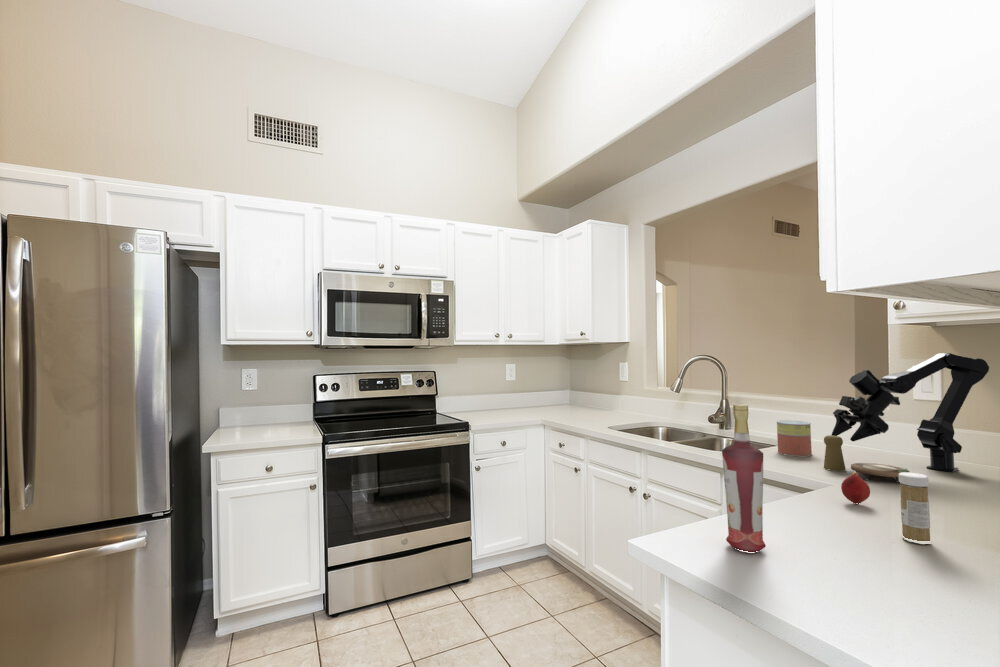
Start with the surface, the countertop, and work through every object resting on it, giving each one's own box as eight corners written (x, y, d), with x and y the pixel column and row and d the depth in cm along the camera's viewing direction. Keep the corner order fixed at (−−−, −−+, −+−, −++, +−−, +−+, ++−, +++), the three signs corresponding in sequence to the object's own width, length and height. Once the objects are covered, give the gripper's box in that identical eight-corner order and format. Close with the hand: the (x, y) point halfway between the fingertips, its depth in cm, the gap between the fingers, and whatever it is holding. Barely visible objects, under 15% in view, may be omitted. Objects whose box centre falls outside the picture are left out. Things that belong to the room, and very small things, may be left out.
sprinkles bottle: (902, 535, 98) (899, 470, 98) (932, 541, 95) (928, 473, 95) (901, 542, 94) (897, 474, 95) (932, 548, 91) (928, 478, 92)
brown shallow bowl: (862, 470, 153) (861, 458, 154) (917, 479, 141) (917, 466, 142) (843, 476, 146) (842, 464, 146) (900, 486, 134) (899, 473, 134)
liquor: (770, 559, 87) (764, 407, 88) (726, 553, 89) (721, 406, 91) (764, 544, 94) (758, 404, 95) (723, 539, 96) (719, 403, 98)
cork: (845, 472, 151) (844, 437, 152) (823, 469, 155) (821, 436, 156) (845, 468, 156) (844, 435, 157) (824, 466, 160) (822, 433, 160)
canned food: (817, 457, 175) (816, 424, 175) (785, 456, 176) (784, 424, 177) (803, 451, 186) (802, 420, 186) (772, 450, 188) (771, 420, 188)
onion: (858, 509, 115) (857, 476, 115) (836, 502, 120) (834, 470, 121) (876, 506, 116) (874, 474, 117) (853, 500, 122) (851, 469, 122)
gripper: (837, 386, 166) (806, 417, 166) (877, 389, 147) (842, 424, 147) (861, 408, 165) (830, 439, 165) (904, 414, 146) (869, 450, 146)
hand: (841, 438), depth 156 cm, fingers open, 9 cm apart
